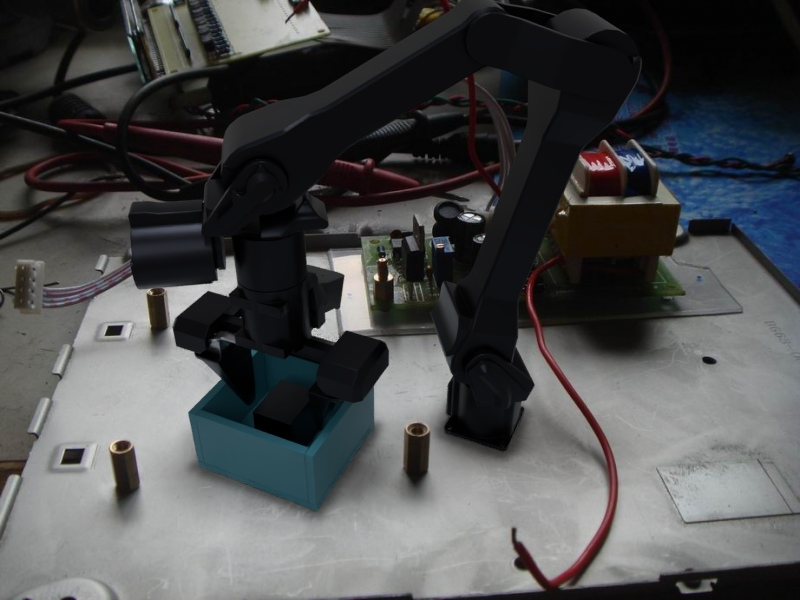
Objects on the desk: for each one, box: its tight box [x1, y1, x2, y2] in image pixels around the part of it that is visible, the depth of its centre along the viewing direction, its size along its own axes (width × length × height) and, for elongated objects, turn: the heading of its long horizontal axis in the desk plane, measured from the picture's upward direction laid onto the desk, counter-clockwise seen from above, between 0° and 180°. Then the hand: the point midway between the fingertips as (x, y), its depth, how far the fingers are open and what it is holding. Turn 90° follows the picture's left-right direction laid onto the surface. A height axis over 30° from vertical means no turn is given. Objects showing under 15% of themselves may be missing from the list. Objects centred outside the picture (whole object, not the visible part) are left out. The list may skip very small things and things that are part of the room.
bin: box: [187, 349, 375, 512], centre depth 70 cm, size 13×12×7 cm
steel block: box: [253, 379, 319, 447], centre depth 70 cm, size 4×5×5 cm
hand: (286, 414), depth 70 cm, fingers open, 7 cm apart
